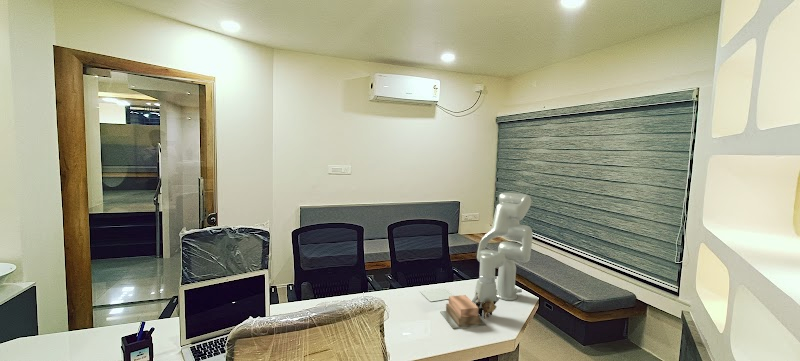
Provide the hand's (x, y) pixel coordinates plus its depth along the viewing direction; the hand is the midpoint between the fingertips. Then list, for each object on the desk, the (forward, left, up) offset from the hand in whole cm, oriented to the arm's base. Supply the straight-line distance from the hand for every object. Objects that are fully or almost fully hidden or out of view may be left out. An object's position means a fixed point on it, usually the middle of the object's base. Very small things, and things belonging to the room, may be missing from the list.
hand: (484, 313), depth 163 cm
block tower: (+13, +1, -1) cm, 13 cm away
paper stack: (+18, -22, -2) cm, 29 cm away
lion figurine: (0, -1, -1) cm, 2 cm away
